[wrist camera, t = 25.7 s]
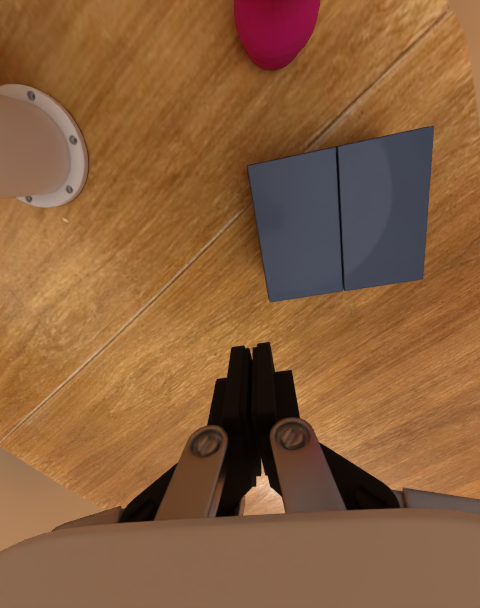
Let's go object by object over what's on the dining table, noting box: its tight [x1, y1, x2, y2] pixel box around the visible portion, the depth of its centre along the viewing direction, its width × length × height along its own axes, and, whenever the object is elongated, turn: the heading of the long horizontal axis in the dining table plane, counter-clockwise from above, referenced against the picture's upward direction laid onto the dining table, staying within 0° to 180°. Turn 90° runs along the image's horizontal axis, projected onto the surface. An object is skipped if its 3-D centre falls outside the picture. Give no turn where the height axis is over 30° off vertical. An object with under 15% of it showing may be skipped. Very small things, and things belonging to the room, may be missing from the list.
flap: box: [247, 147, 343, 302], centre depth 27 cm, size 7×13×1 cm, turn 11°
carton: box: [247, 126, 434, 298], centre depth 31 cm, size 15×13×10 cm
